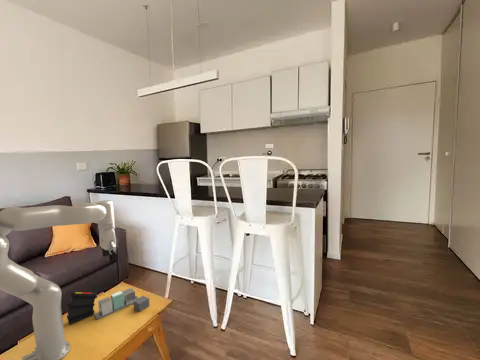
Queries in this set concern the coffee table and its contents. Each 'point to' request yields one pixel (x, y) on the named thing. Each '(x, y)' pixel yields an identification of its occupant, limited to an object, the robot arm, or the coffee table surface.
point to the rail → (106, 303)
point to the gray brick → (141, 303)
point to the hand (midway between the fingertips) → (109, 258)
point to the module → (117, 300)
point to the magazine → (80, 306)
